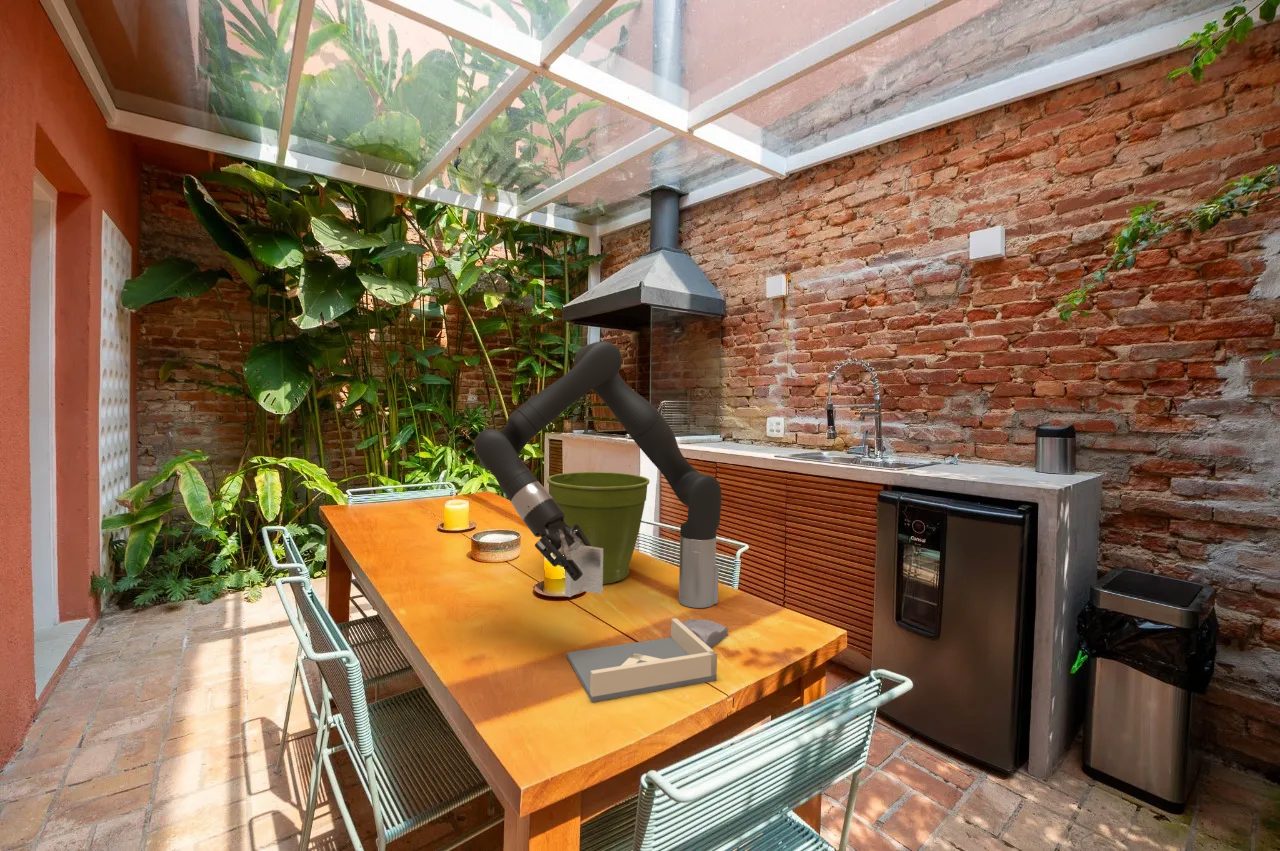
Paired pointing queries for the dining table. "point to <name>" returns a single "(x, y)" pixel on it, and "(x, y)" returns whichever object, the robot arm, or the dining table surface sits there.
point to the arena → (645, 665)
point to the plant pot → (603, 513)
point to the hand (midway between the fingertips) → (586, 573)
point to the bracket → (586, 570)
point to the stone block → (707, 631)
